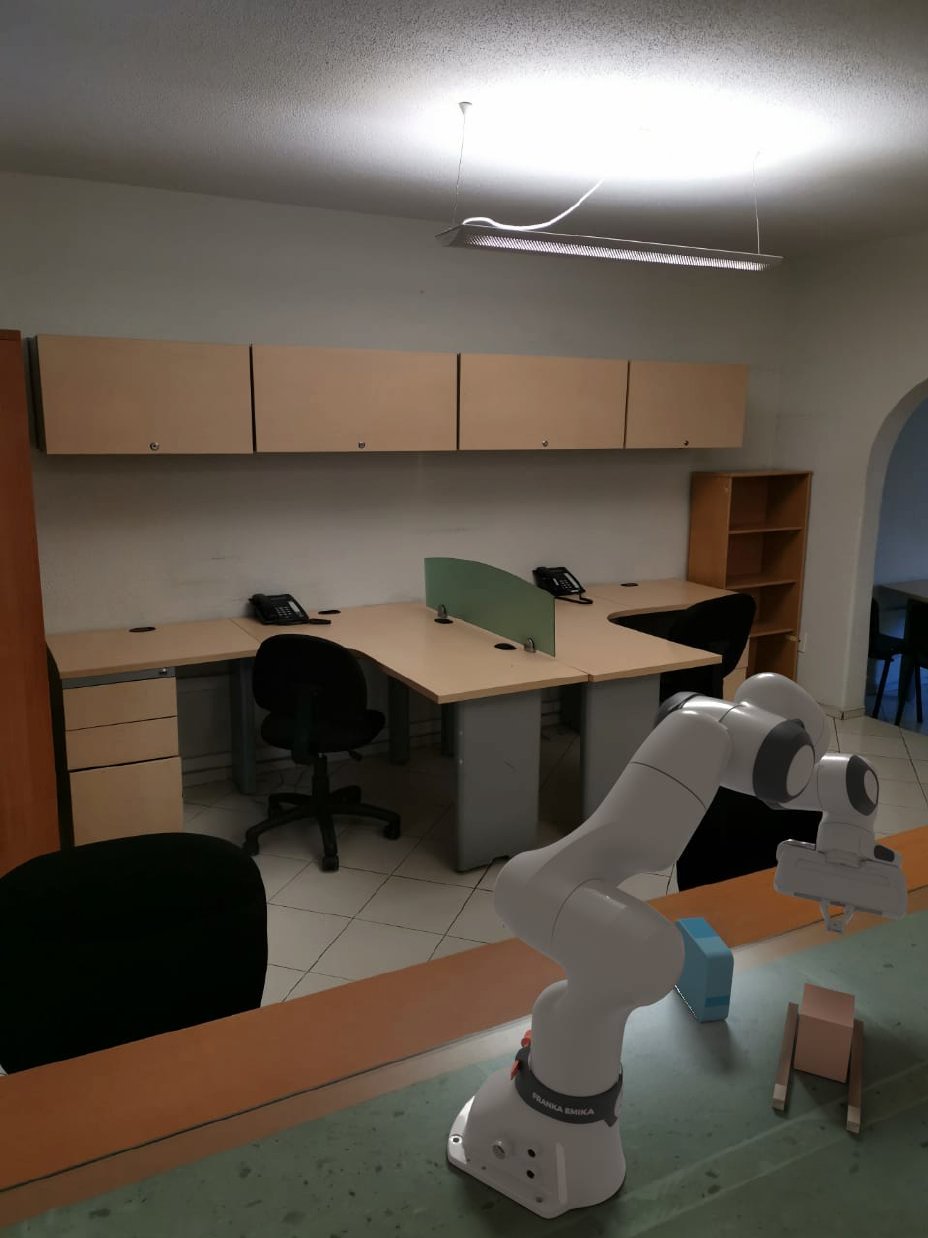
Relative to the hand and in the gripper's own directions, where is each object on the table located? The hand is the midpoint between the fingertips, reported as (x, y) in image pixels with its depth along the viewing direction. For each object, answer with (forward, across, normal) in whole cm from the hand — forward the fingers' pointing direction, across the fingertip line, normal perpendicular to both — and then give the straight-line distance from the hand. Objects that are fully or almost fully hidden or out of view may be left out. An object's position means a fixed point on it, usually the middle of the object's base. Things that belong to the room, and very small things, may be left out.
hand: (833, 932), depth 149 cm
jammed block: (+20, 0, -3) cm, 20 cm away
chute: (+21, 0, -4) cm, 21 cm away
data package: (+16, -19, +2) cm, 25 cm away
